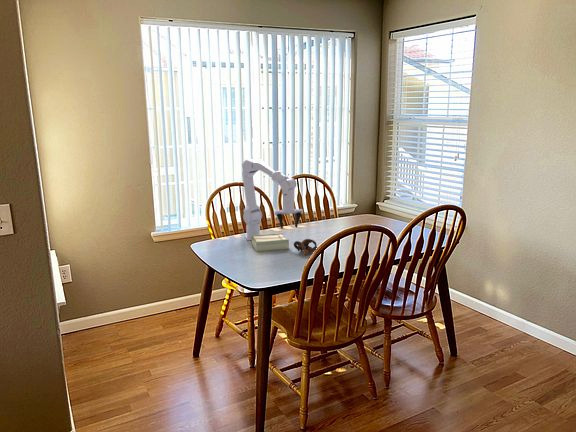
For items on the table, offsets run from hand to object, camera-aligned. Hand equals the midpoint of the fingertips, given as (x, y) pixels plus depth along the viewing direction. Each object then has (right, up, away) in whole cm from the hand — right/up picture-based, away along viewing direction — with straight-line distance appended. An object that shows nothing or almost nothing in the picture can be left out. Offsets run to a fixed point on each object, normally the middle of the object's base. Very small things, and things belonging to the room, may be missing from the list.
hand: (289, 227), depth 254 cm
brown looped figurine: (+8, -13, -10) cm, 18 cm away
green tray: (-10, -10, +1) cm, 14 cm away
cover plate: (-10, -7, +1) cm, 12 cm away
